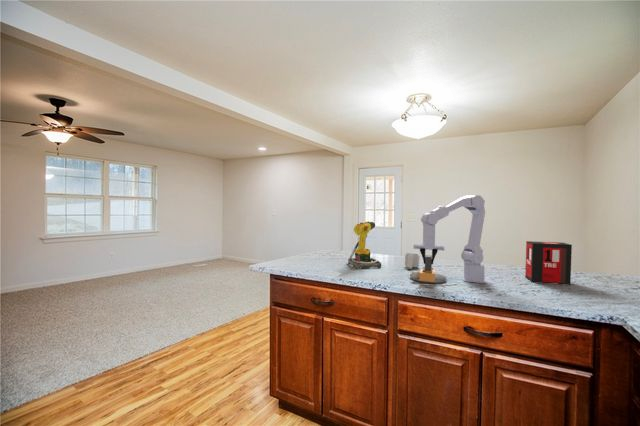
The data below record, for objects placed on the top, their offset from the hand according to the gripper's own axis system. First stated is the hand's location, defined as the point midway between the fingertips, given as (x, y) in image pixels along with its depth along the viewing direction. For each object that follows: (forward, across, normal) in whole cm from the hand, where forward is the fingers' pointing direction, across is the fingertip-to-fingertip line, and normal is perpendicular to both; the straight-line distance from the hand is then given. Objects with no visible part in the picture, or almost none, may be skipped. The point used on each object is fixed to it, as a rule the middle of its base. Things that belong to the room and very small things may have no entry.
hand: (428, 263), depth 152 cm
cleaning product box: (+10, +57, +27) cm, 63 cm away
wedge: (+3, 0, -1) cm, 3 cm away
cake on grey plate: (+9, 0, +7) cm, 12 cm away
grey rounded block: (+10, -11, +31) cm, 35 cm away
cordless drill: (+10, -39, +28) cm, 49 cm away
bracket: (+8, -2, 0) cm, 8 cm away
